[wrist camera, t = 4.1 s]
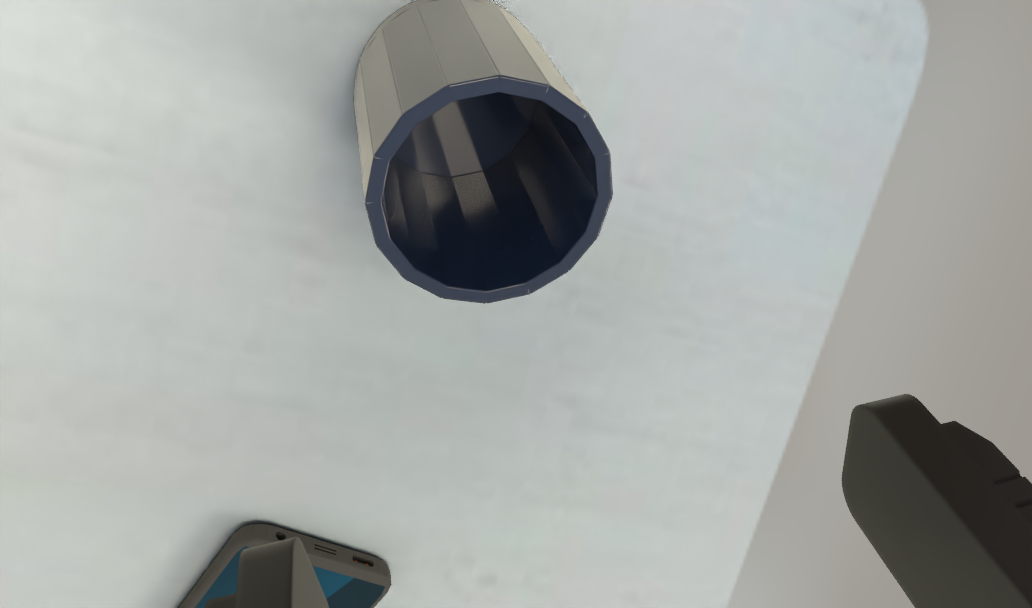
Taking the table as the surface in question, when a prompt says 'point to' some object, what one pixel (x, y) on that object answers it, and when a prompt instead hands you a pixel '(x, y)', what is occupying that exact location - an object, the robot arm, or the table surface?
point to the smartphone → (340, 571)
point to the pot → (475, 153)
